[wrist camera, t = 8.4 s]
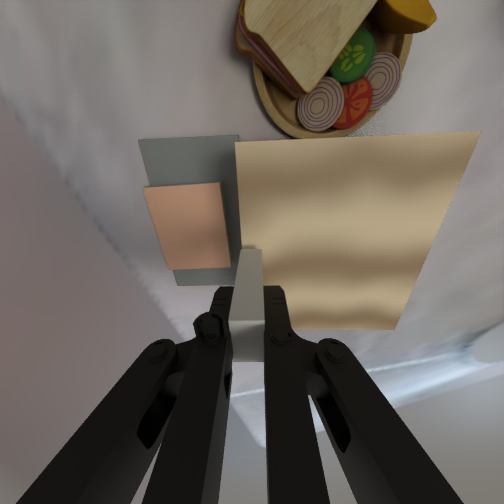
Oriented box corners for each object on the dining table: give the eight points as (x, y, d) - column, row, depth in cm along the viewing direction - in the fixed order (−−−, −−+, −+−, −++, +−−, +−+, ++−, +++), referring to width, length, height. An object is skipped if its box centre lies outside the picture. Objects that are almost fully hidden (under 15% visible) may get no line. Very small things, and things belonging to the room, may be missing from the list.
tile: (219, 182, 19) (221, 180, 20) (142, 188, 20) (149, 185, 21) (231, 267, 24) (232, 261, 25) (168, 269, 24) (173, 263, 25)
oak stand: (244, 146, 19) (234, 142, 11) (386, 140, 19) (481, 131, 11) (250, 277, 27) (247, 330, 19) (352, 275, 26) (394, 329, 18)
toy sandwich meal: (310, 170, 20) (323, 175, 16) (214, 48, 16) (198, 11, 12) (430, 59, 16) (491, 26, 12) (342, -147, 12) (388, -310, 8)
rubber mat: (140, 139, 19) (137, 139, 19) (238, 135, 19) (238, 134, 18) (178, 284, 28) (177, 285, 27) (247, 283, 27) (247, 284, 27)
